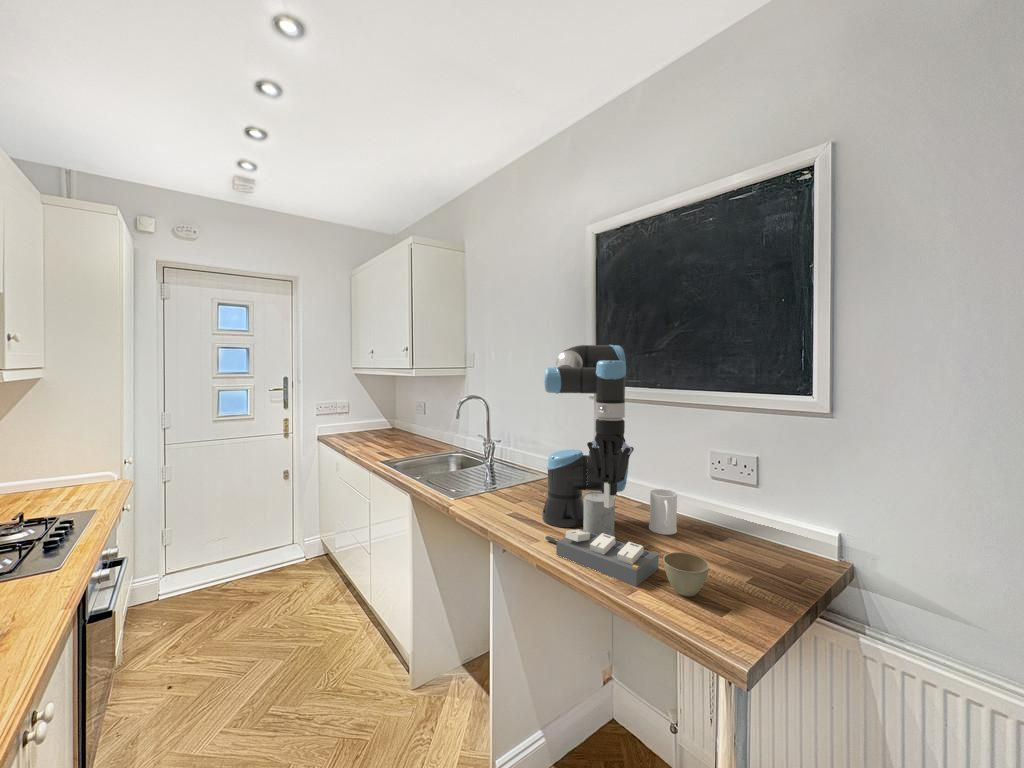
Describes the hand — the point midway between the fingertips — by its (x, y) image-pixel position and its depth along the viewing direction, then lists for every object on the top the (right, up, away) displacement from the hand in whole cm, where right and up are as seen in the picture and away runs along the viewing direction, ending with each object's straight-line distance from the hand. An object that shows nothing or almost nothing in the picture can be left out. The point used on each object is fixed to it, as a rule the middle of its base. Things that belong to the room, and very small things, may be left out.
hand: (608, 506), depth 117 cm
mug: (+22, -14, +21) cm, 34 cm away
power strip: (-4, -15, +3) cm, 16 cm away
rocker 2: (-2, -10, -1) cm, 10 cm away
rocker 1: (-8, -9, +4) cm, 13 cm away
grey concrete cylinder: (+1, -14, +18) cm, 23 cm away
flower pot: (+15, -16, -14) cm, 26 cm away
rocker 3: (+4, -10, -7) cm, 13 cm away
